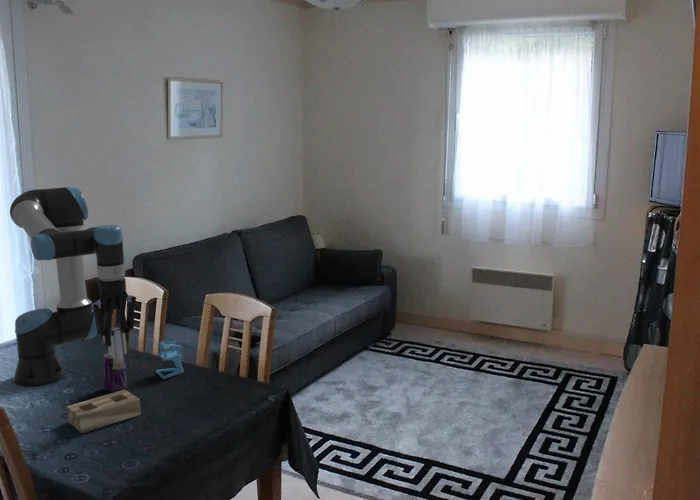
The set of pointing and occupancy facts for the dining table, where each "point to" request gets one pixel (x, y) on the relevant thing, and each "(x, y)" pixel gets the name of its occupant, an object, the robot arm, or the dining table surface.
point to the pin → (118, 348)
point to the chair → (170, 358)
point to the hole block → (103, 411)
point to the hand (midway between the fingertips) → (117, 354)
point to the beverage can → (113, 375)
